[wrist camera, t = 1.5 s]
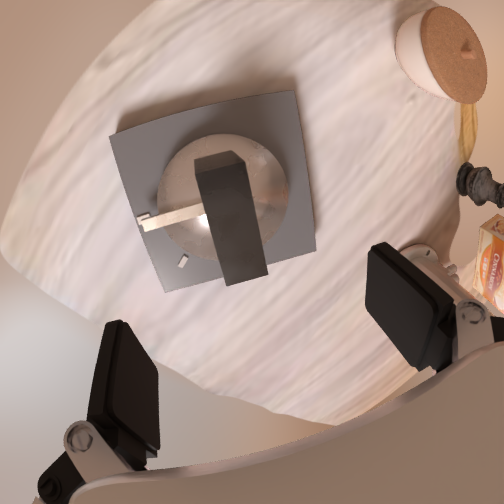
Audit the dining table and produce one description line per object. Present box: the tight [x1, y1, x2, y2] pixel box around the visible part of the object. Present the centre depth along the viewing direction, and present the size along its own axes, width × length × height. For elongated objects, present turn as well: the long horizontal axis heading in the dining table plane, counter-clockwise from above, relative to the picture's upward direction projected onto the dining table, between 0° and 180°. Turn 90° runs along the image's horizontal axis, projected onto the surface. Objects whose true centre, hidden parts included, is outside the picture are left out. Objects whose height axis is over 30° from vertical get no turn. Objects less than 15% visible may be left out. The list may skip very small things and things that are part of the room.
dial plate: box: [109, 90, 316, 293], centre depth 25 cm, size 16×16×2 cm
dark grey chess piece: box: [456, 162, 504, 208], centre depth 26 cm, size 6×6×12 cm
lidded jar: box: [395, 6, 487, 104], centre depth 18 cm, size 11×11×9 cm
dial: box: [141, 133, 288, 286], centre depth 21 cm, size 12×11×8 cm
